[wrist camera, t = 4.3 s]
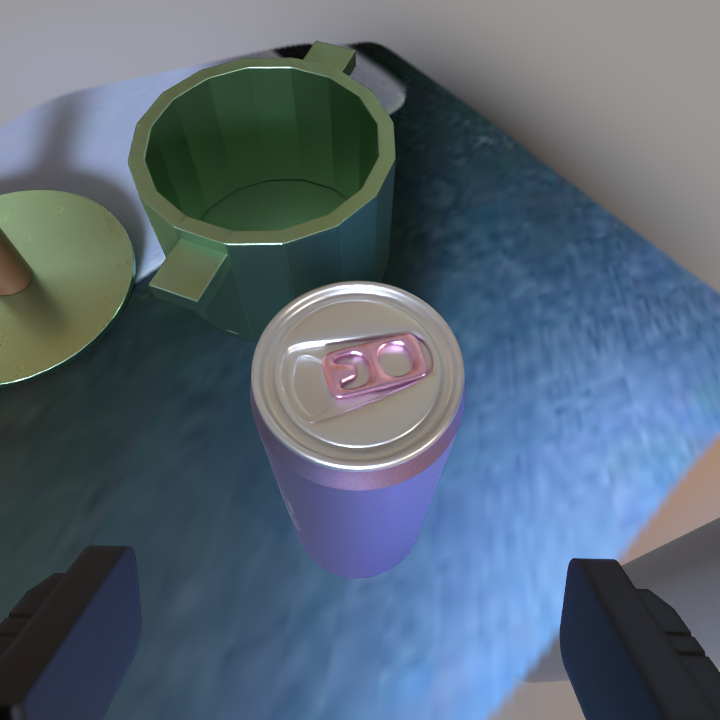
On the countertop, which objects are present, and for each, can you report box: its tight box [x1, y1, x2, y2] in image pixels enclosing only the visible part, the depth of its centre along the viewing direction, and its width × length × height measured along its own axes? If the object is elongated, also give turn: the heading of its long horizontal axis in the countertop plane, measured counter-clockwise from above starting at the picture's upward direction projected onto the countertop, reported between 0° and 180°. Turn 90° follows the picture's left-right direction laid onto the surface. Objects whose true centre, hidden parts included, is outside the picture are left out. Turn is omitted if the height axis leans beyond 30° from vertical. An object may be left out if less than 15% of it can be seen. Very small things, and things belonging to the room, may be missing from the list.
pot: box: [128, 41, 396, 342], centre depth 33 cm, size 13×18×8 cm
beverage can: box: [250, 281, 466, 578], centre depth 22 cm, size 6×6×15 cm
